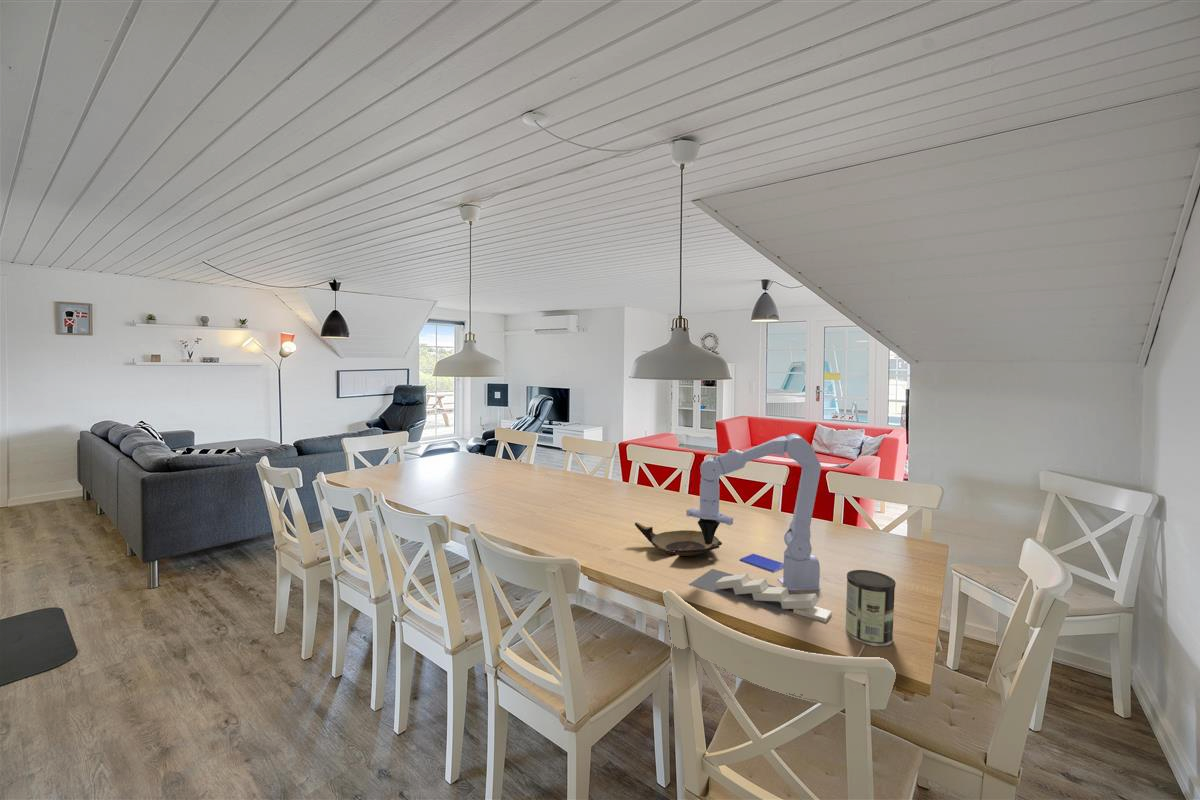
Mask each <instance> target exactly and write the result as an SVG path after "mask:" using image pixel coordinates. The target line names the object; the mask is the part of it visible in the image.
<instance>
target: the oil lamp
mask: <svg viewBox="0 0 1200 800" xmlns="http://www.w3.org/2000/svg"><path fill="white" fill-rule="evenodd" d="M634 526H635V528H637V529H638V531H640V533H642V535H643V536H644V537H645V538H646V539H647V541H648V542H650V543H651V545H652V546H654V548H656V549H658V550H660V551H662V552H665V553H667V554H670V555H674V556H680V557H691V556H698V555H701V554H703V553H707V552H710V551H713V550H717V549H719V548H720V546H721V545H723V543H722V541H720V539H719V538H718V537H717V536H715V535H714V537H713V541H712V544H710V545H707V544H705V541H704V536H703V533H702V531H701V530H699V531H697V530H687V529H684V530H671V531H664V532H660V533H654V531H653V530H654V528H653V526H645V525H642V524H641V523H639V522H634Z"/></svg>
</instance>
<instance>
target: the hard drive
mask: <svg viewBox="0 0 1200 800" xmlns="http://www.w3.org/2000/svg"><path fill="white" fill-rule="evenodd" d="M739 561H740V562H743V563H745V564H749V565H751V566H754V567H757V568H760V569H762V570H765V571H769V572H771V573H774V574H775V573H776V572H777V571H780V570H783V569H784V562H780V561H777V560H774V559H771V558H768V557H767V556H766V557H765V556H763V555H759V554H757V553H751V554H749V555H747V556H744V557H741V558H740V559H739Z"/></svg>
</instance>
